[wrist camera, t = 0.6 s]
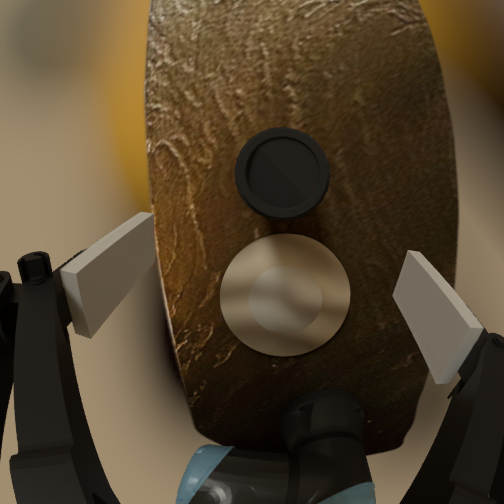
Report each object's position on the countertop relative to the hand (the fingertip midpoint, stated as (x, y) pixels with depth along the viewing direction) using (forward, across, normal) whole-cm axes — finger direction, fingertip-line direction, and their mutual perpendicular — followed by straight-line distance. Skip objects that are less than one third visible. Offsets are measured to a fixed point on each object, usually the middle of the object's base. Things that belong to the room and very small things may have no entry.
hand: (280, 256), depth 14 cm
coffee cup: (+26, 0, 0) cm, 26 cm away
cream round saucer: (+22, -3, +16) cm, 28 cm away
